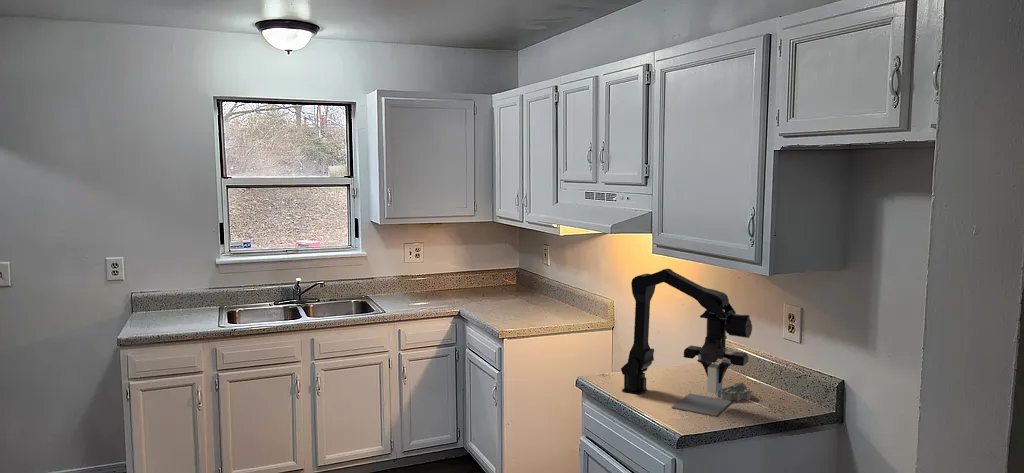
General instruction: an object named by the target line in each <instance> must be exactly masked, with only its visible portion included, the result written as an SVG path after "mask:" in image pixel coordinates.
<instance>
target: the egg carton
mask: <svg viewBox="0 0 1024 473" xmlns="http://www.w3.org/2000/svg"><path fill="white" fill-rule="evenodd" d="M752 393H753V390H750V388H748V387H747V386H746V385H745V384H744V382H737V383H734V384H733V385H728V386H722V389H721V390H719V391H718V392H717V393H716V398H720V399H725V400H731V401H736V402H737V401H741V400H746V401H749V400H751V399H752Z"/></svg>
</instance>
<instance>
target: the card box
mask: <svg viewBox="0 0 1024 473" xmlns="http://www.w3.org/2000/svg"><path fill="white" fill-rule="evenodd" d="M720 363H721V362H714V363H712V364H711V365H710V366H708V377H707V382H706V383H707V388H706V389H707V391H706V392H707V393H709V394H716V393H717V392H718V391H719V390H721V389H722V387H723V381H722V382H721V383H720V384H719V372H720V366H719V364H720Z"/></svg>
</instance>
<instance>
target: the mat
mask: <svg viewBox="0 0 1024 473" xmlns="http://www.w3.org/2000/svg"><path fill="white" fill-rule="evenodd" d="M732 403H733V400H725V399H721V398H720V397H712V396H708V395H707V396H706V395H703V394H695V393H688V394H687V395H685V396H684V397H683V398H682V399H681V400H679V401H678V402H676V403H675V404H674V405H673V406H671V409H673V410H679V411H684V412H690V413H696V414H700V415H705V416H711V417H718V415H720V414H721V413H722V412H723V411H725V409H727V407H728V406H729V405H731V404H732Z"/></svg>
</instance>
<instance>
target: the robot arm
mask: <svg viewBox="0 0 1024 473" xmlns="http://www.w3.org/2000/svg"><path fill="white" fill-rule="evenodd" d="M662 283H665V284H667V285H669V287H671V288H674V289H676V290H678V291H680V292H682V293H683V294H686V295H687V296H689V297H690V298H693V299H695V300H696V302H698V304H699V305H700V306H701V307H702V308H704V309H705V310H704V311H703V313H702V314H701V315H700V316H699V318H702V319H706V336H705V338H704V343H703V345H702V346H697V345H689V346H687V347H686V348H685V349H684V350H683V358H686V359H694V358H695V357H696V356H698V357H697V362H698V363H700V364H701V365H702V367H703V368H704V372H705V373H706V377H707V378H708V366H710V365H711V364H713V363H714V362H715V363H717V362H718V360H721V362H719V363H720V364H719V366H720V372H719V384H720V383H721V382H722V383H723V379H724V376H725V374H726V372H727V370H728V368H729V367H731V366H732V365H733V366H738V367H739V366H740V367H743V366H745V365H746V364H748V363H749V355H748V353H747V352H741V351H734V352H733V353H732V354H731V353H727V348H726V343H727V342H726V340H727V334H728V336H733V337H739V338H747V339H749V338H750V337H751V335H752V333H753V324H752V319H750V315H749V314H739V313H738V314H737V312H736V310H735V308H733V306H732V305H731V303H730V299H729V298H728V295H727V293H725V292H723V291H720V290H716V289H714V288H709V287H708V288H707V287H705V286H702V285H700V284H698V283H696V282H694V281H692V280H690V279H688V278H687V277H685V276H683V275H681V274H679V273H677V272H675V271H674V270H673V269H670V268H664V269H661V270H659V271H657V272H654V273H651V274H650V273H643V274H642V273H641V274H639V275H636V276H634V278H632V279H631V284H630V285H631V292H632V296H633V298H634V302H635V308H634V327H633V328H634V330H633V331H634V332H633V344H632V347H631V348H630V351H629V355H628V358H627V362H626V363H625V364H624V365H623V366H622V367H621V368H620V369H621V374H622V375H623V378H624V379H623V388H622V390H621V392H625V393H630V394H635V395H641V394H642V393H644V392H645V391H647V390H648V389H647V377H646V373H645V372H647V370H648V368H649V367H651V365H652V363H653V361H655V358H654V353H655V349H654V348H651V347H650V344H649V336H650V334H649V330H650V315H651V314H650V312H651V311H650V310H651V301H652V298H653V296H654V294H655V290H656V286H657V285H659V284H662Z"/></svg>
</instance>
